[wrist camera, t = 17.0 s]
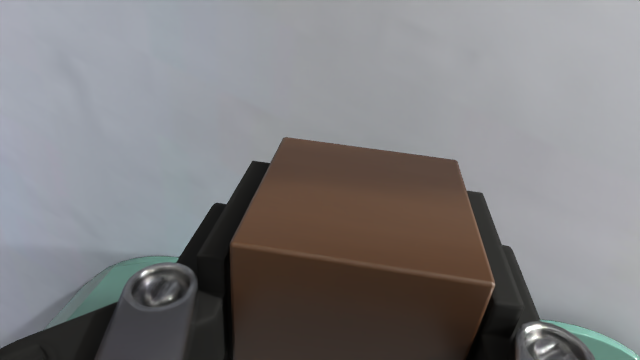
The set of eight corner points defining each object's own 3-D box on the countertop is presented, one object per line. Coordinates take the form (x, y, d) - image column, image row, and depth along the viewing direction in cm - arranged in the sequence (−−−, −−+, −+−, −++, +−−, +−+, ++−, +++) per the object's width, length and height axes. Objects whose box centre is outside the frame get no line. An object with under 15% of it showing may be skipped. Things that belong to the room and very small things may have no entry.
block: (283, 135, 11) (226, 242, 7) (458, 158, 11) (497, 285, 7) (277, 266, 13) (232, 401, 9) (421, 289, 13) (436, 438, 9)
